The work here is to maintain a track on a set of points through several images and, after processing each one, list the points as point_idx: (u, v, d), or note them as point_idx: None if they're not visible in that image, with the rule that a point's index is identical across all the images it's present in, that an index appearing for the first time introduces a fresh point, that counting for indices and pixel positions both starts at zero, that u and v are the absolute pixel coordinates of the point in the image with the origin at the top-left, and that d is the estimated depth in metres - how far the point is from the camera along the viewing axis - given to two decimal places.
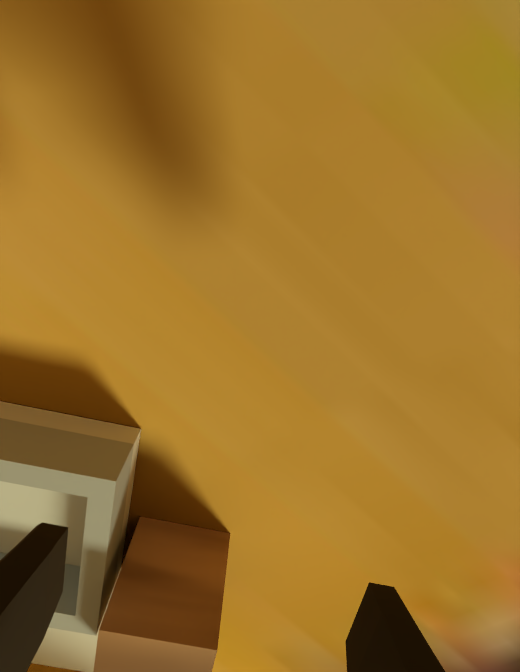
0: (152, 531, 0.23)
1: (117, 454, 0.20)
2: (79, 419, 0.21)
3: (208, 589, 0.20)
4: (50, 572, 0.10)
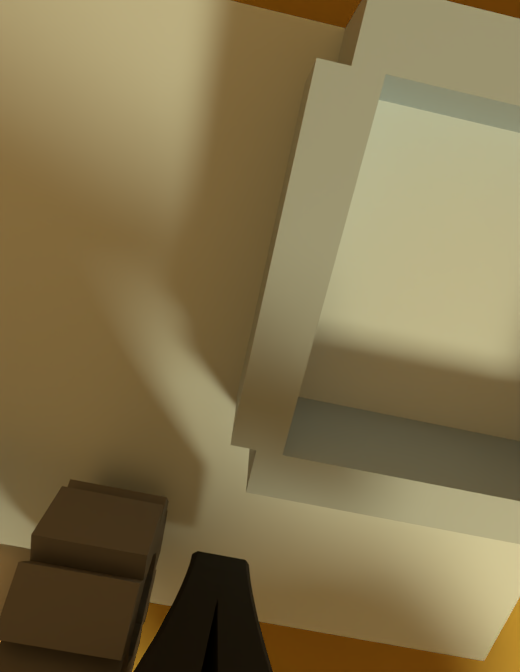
0: None
1: None
2: None
3: None
4: None
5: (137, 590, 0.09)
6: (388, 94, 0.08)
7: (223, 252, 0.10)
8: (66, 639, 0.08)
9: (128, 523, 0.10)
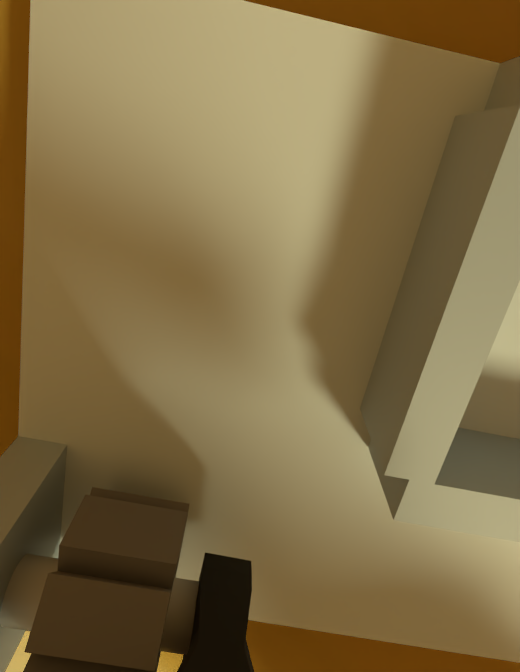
0: None
1: None
2: None
3: None
4: None
5: (168, 599, 0.09)
6: None
7: (357, 280, 0.10)
8: (99, 650, 0.08)
9: (154, 531, 0.10)
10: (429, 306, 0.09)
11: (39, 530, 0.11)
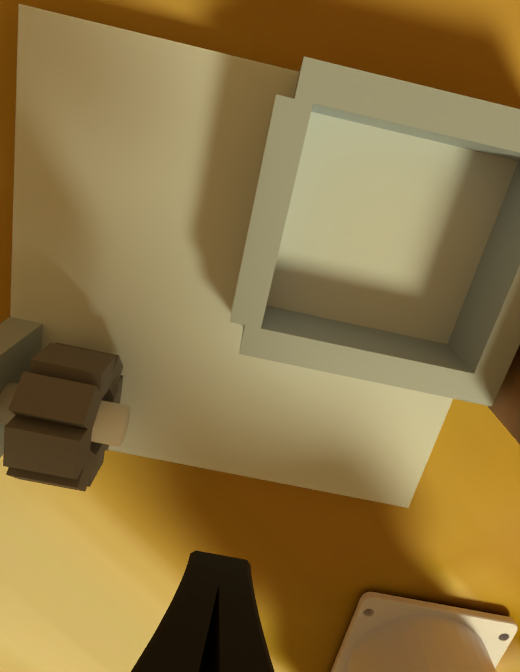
0: None
1: None
2: None
3: None
4: None
5: (94, 389, 0.14)
6: (322, 111, 0.14)
7: (225, 209, 0.16)
8: (51, 412, 0.14)
9: (91, 360, 0.15)
10: None
11: None
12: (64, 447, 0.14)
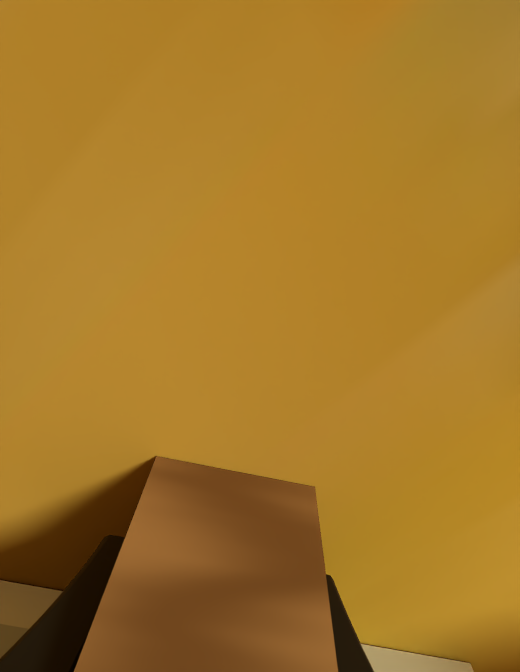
0: None
1: None
2: None
3: None
4: None
5: None
6: None
7: None
8: None
9: None
10: None
11: None
12: None
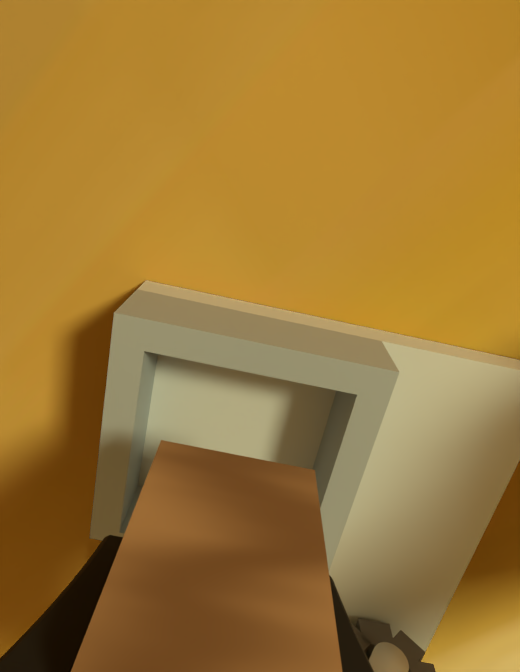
0: None
1: None
2: None
3: None
4: None
5: None
6: (133, 490, 0.18)
7: None
8: None
9: None
10: None
11: None
12: None
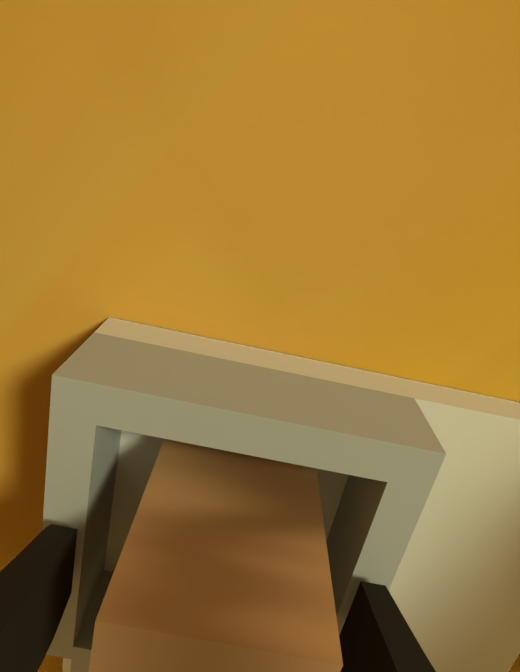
0: None
1: None
2: None
3: None
4: (60, 574, 0.10)
5: None
6: (95, 582, 0.14)
7: None
8: None
9: None
10: None
11: None
12: None
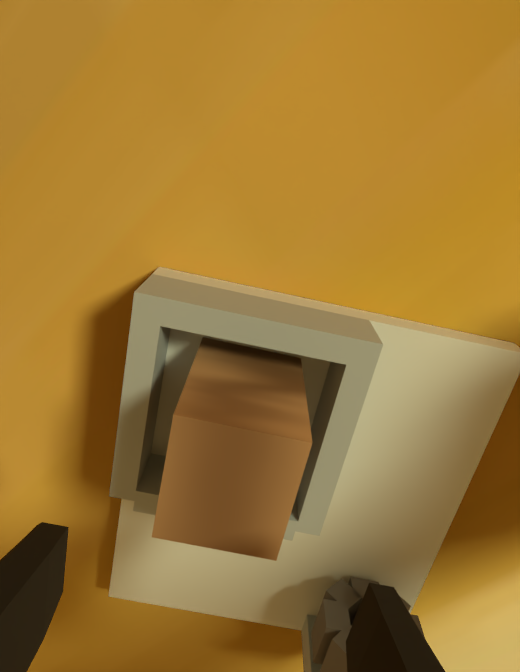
0: None
1: None
2: None
3: None
4: (50, 572, 0.10)
5: (334, 641, 0.20)
6: (147, 456, 0.20)
7: None
8: None
9: (321, 621, 0.21)
10: None
11: None
12: None
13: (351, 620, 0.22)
